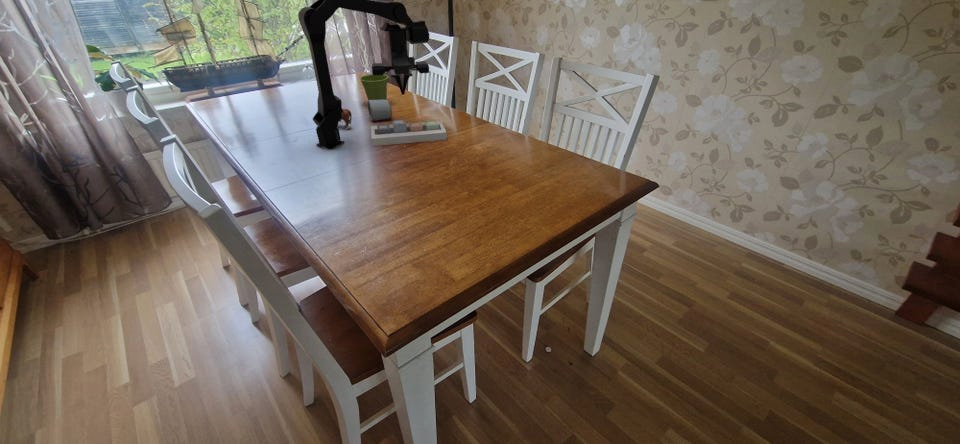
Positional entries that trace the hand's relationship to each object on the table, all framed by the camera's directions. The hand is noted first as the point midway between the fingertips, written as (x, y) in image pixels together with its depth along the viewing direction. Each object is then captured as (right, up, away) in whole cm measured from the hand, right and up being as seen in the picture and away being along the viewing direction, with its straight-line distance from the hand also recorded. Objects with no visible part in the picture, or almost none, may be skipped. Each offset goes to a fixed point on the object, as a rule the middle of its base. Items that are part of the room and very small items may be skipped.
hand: (403, 94), depth 131 cm
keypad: (+2, -15, +1) cm, 15 cm away
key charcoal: (-6, -15, -2) cm, 16 cm away
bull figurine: (-26, -10, +8) cm, 29 cm away
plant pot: (-17, +6, +31) cm, 36 cm away
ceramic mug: (-13, -4, +17) cm, 21 cm away
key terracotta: (+5, -13, +1) cm, 14 cm away
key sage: (+10, -13, +2) cm, 16 cm away
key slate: (-1, -13, -1) cm, 13 cm away
